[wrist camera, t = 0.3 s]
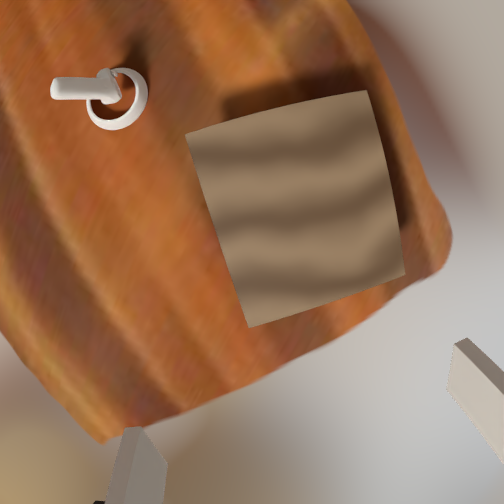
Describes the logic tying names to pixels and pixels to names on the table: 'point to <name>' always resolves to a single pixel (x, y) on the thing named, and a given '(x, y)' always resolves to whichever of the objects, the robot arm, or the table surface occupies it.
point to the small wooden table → (300, 204)
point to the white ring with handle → (103, 94)
